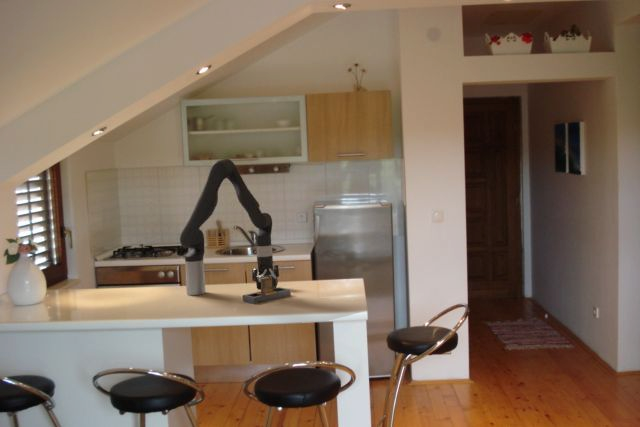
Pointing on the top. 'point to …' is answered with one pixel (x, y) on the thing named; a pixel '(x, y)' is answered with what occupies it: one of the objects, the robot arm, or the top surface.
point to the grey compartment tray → (266, 295)
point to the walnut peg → (266, 285)
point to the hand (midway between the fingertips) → (266, 287)
